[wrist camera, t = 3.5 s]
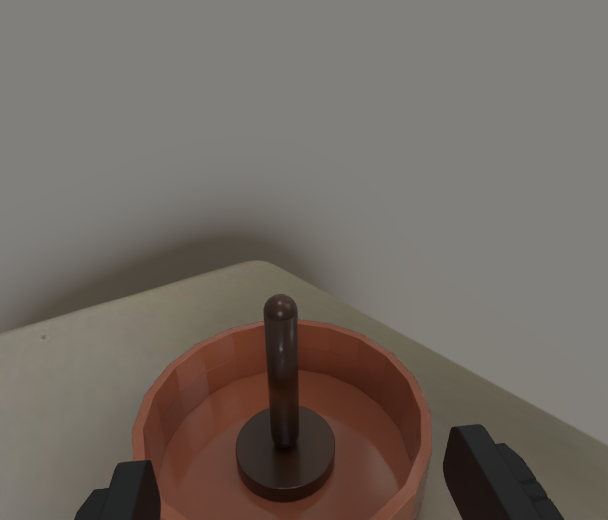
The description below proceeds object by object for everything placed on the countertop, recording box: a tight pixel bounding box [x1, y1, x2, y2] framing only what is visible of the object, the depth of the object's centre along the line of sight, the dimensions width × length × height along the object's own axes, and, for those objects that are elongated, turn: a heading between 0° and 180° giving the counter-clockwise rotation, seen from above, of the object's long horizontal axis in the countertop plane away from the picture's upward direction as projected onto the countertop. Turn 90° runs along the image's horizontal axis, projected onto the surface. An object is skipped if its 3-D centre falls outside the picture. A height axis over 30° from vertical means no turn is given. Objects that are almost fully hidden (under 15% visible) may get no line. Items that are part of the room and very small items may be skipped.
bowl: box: [132, 319, 432, 520], centre depth 26 cm, size 17×17×6 cm
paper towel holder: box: [235, 294, 335, 502], centre depth 24 cm, size 6×6×12 cm
